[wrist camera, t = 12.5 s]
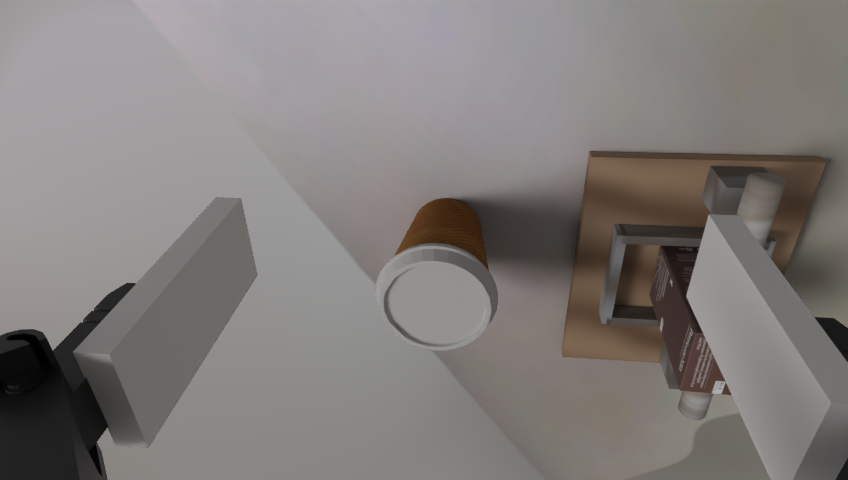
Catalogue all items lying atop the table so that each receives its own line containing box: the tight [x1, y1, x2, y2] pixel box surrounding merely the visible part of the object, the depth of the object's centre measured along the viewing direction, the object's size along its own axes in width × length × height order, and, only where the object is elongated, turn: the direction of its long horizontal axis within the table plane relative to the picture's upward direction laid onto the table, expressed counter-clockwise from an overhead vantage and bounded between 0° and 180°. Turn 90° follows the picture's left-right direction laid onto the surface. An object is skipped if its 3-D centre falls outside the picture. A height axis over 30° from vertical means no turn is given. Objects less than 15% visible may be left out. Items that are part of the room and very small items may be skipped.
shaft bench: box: [562, 151, 826, 420], centre depth 49 cm, size 24×18×8 cm
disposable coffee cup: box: [375, 199, 498, 350], centre depth 48 cm, size 10×10×12 cm
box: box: [649, 245, 732, 395], centre depth 46 cm, size 6×4×12 cm
